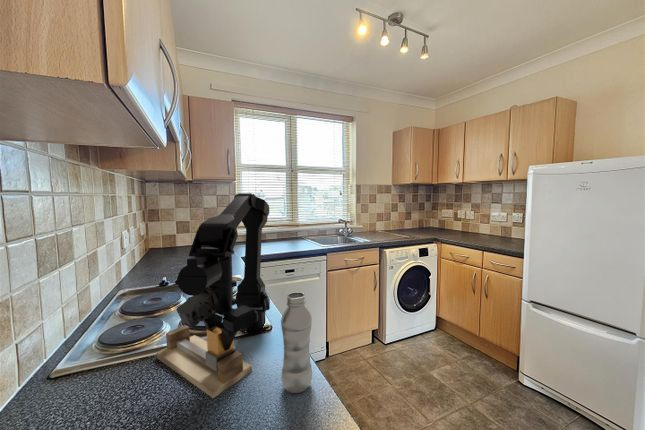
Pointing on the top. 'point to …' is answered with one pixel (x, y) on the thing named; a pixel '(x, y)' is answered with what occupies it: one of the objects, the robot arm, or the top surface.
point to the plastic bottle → (296, 344)
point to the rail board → (201, 362)
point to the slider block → (216, 348)
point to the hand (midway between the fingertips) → (220, 346)
